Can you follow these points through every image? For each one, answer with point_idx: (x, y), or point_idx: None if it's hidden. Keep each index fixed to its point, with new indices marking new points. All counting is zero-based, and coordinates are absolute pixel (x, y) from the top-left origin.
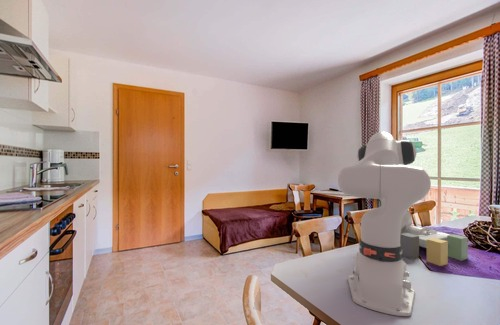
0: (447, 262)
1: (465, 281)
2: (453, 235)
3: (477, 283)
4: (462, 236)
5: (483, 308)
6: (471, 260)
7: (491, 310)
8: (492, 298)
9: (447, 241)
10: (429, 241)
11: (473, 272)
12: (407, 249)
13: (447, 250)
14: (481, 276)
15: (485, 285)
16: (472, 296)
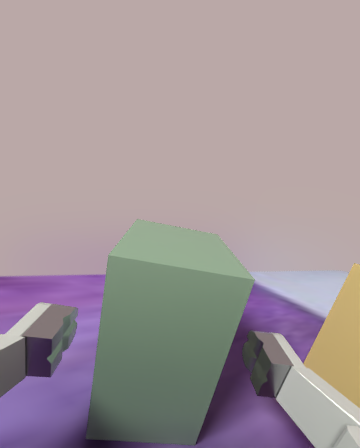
0: (306, 361)
1: (320, 298)
2: (178, 254)
3: (296, 286)
4: (139, 228)
5: (343, 276)
6: None
7: (333, 272)
8: (308, 272)
9: (357, 264)
10: None
11: (254, 297)
12: None
13: (333, 309)
14: (254, 285)
15: (284, 279)
16: (342, 285)
